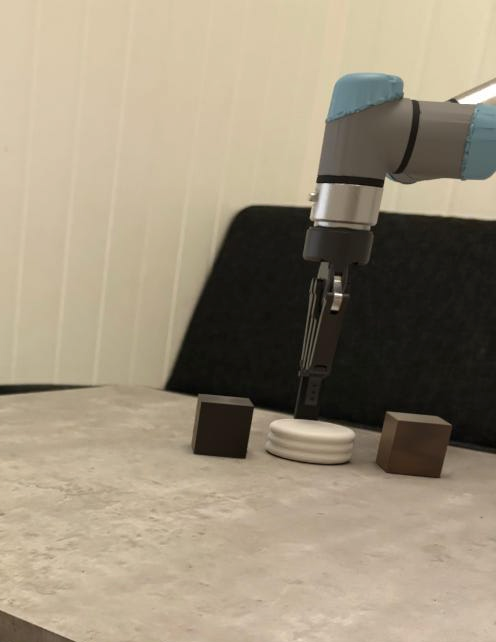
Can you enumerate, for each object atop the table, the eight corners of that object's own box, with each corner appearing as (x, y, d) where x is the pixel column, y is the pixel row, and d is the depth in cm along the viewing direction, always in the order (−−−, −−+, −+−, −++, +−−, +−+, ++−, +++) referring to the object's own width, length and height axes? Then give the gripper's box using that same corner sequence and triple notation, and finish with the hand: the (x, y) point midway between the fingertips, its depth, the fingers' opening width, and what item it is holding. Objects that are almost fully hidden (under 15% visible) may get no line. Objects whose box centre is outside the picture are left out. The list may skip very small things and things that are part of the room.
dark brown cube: (240, 448, 122) (249, 398, 120) (245, 458, 117) (254, 406, 114) (191, 443, 123) (198, 393, 120) (193, 453, 117) (201, 401, 115)
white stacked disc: (248, 450, 122) (253, 420, 120) (296, 443, 128) (301, 415, 126) (319, 468, 115) (325, 437, 113) (366, 460, 121) (372, 431, 120)
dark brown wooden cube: (426, 466, 121) (438, 416, 118) (440, 478, 115) (452, 425, 113) (375, 461, 121) (386, 411, 119) (386, 472, 115) (398, 420, 113)
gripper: (300, 224, 123) (267, 418, 132) (317, 223, 111) (279, 437, 120) (363, 229, 122) (325, 424, 132) (386, 229, 110) (343, 443, 120)
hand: (303, 430), depth 126 cm, fingers closed
